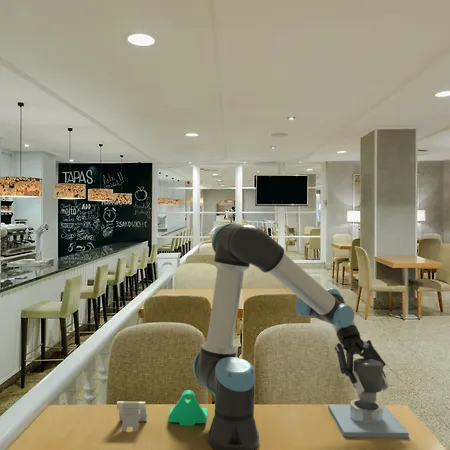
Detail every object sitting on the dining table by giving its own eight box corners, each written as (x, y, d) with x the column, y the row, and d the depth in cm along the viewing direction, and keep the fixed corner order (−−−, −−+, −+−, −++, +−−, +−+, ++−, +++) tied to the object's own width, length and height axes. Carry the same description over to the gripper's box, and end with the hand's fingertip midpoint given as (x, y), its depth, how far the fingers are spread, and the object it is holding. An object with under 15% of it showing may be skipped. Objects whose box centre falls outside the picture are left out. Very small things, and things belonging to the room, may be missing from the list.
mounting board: (343, 436, 141) (344, 432, 141) (328, 408, 161) (328, 404, 161) (408, 437, 142) (408, 433, 142) (384, 409, 162) (384, 405, 162)
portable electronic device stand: (147, 420, 150) (147, 394, 149) (143, 431, 142) (143, 405, 141) (120, 419, 149) (121, 394, 149) (115, 431, 142) (115, 404, 141)
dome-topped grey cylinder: (347, 398, 151) (348, 362, 151) (361, 391, 158) (362, 356, 157) (374, 407, 145) (375, 370, 144) (386, 399, 152) (388, 363, 151)
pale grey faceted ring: (344, 417, 151) (344, 404, 151) (359, 408, 159) (359, 396, 158) (373, 428, 144) (373, 414, 144) (387, 418, 152) (387, 405, 151)
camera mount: (207, 415, 154) (207, 385, 154) (205, 426, 146) (206, 394, 146) (171, 414, 154) (171, 384, 154) (168, 425, 147) (168, 393, 146)
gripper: (366, 332, 169) (395, 391, 155) (314, 337, 161) (340, 400, 147) (376, 321, 164) (407, 381, 150) (323, 326, 156) (351, 389, 142)
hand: (374, 390), depth 148 cm, fingers closed on dome-topped grey cylinder, 9 cm apart
